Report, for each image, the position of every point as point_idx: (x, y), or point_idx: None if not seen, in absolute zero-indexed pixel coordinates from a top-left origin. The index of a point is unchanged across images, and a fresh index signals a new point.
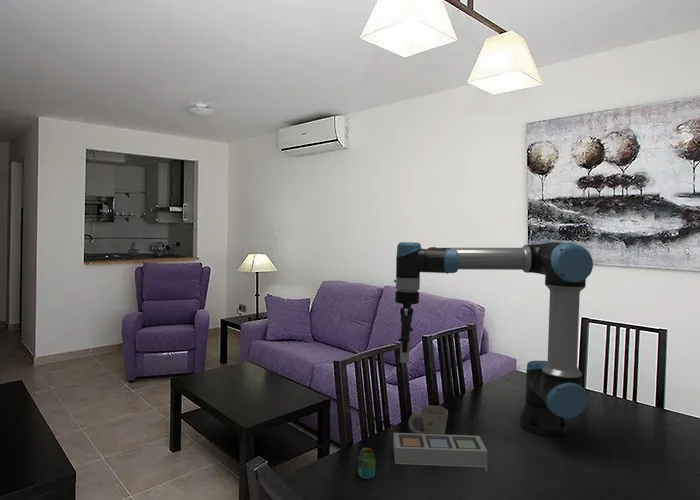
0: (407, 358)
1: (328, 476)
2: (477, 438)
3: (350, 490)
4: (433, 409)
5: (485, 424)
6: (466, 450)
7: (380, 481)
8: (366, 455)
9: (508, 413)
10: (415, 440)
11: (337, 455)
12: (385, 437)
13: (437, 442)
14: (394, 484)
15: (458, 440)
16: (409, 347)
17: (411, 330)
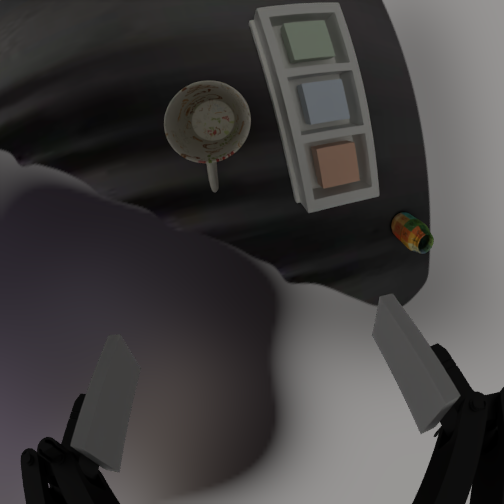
0: (403, 317)
1: (394, 273)
2: (275, 12)
3: None
4: (171, 132)
5: (84, 39)
6: (351, 42)
7: (401, 200)
8: (431, 240)
9: (26, 27)
10: (329, 156)
11: (335, 285)
12: (236, 228)
13: (324, 103)
14: (406, 178)
15: (296, 54)
16: (115, 358)
17: (50, 444)
